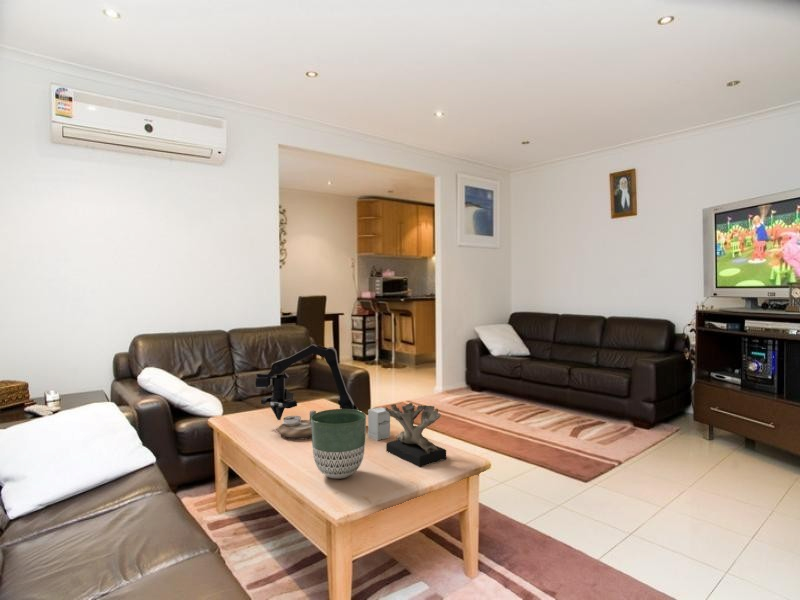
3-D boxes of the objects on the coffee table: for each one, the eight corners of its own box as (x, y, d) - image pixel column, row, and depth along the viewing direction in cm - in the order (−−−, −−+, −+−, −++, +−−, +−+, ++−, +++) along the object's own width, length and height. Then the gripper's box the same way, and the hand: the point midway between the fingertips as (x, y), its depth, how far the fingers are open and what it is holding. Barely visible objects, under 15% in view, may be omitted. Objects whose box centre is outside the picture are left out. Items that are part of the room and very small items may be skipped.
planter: (349, 461, 175) (348, 406, 175) (376, 477, 159) (376, 417, 159) (302, 473, 163) (301, 414, 163) (327, 492, 148) (326, 427, 147)
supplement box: (377, 441, 198) (377, 412, 198) (367, 437, 204) (367, 409, 203) (390, 437, 203) (390, 409, 202) (380, 433, 208) (380, 406, 208)
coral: (452, 462, 174) (452, 406, 173) (410, 474, 162) (410, 415, 162) (413, 444, 194) (413, 394, 194) (373, 454, 182) (373, 401, 182)
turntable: (331, 427, 212) (331, 413, 212) (301, 440, 195) (301, 424, 195) (300, 421, 222) (300, 407, 222) (269, 432, 205) (269, 417, 205)
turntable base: (325, 431, 211) (325, 429, 211) (301, 441, 198) (301, 438, 198) (300, 426, 220) (300, 423, 220) (275, 435, 206) (275, 432, 206)
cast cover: (304, 423, 213) (304, 416, 213) (292, 427, 206) (292, 421, 206) (292, 421, 217) (292, 414, 217) (279, 425, 210) (279, 418, 210)
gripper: (305, 386, 218) (305, 418, 218) (277, 382, 227) (277, 413, 228) (288, 390, 208) (288, 424, 209) (260, 386, 218) (260, 418, 218)
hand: (279, 419), depth 216 cm, fingers closed
